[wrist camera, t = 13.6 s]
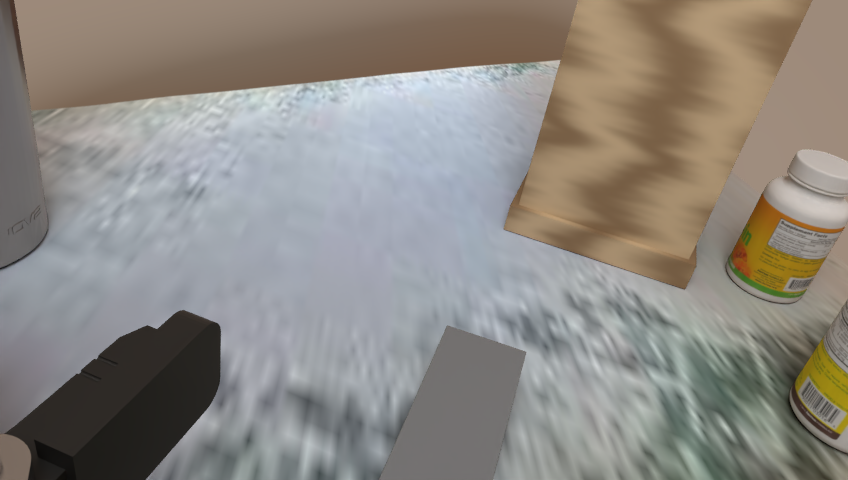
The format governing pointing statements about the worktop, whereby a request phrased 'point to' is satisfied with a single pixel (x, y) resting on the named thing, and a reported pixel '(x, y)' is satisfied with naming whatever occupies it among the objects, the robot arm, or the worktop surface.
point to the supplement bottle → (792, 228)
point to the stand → (649, 126)
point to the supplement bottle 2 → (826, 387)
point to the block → (458, 412)
